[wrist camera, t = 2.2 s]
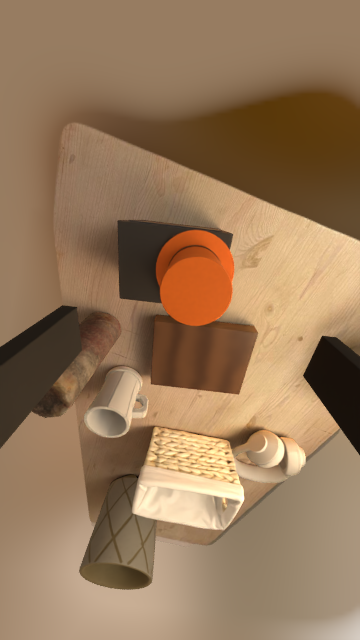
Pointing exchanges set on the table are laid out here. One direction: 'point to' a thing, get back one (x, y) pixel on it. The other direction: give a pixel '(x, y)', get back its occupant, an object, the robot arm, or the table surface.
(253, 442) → the headphones
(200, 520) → the basket
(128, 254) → the television
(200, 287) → the hat
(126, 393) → the cup
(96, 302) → the table surface
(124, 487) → the planter
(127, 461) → the table surface
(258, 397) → the table surface
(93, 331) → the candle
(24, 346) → the robot arm
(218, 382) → the brown wooden board
